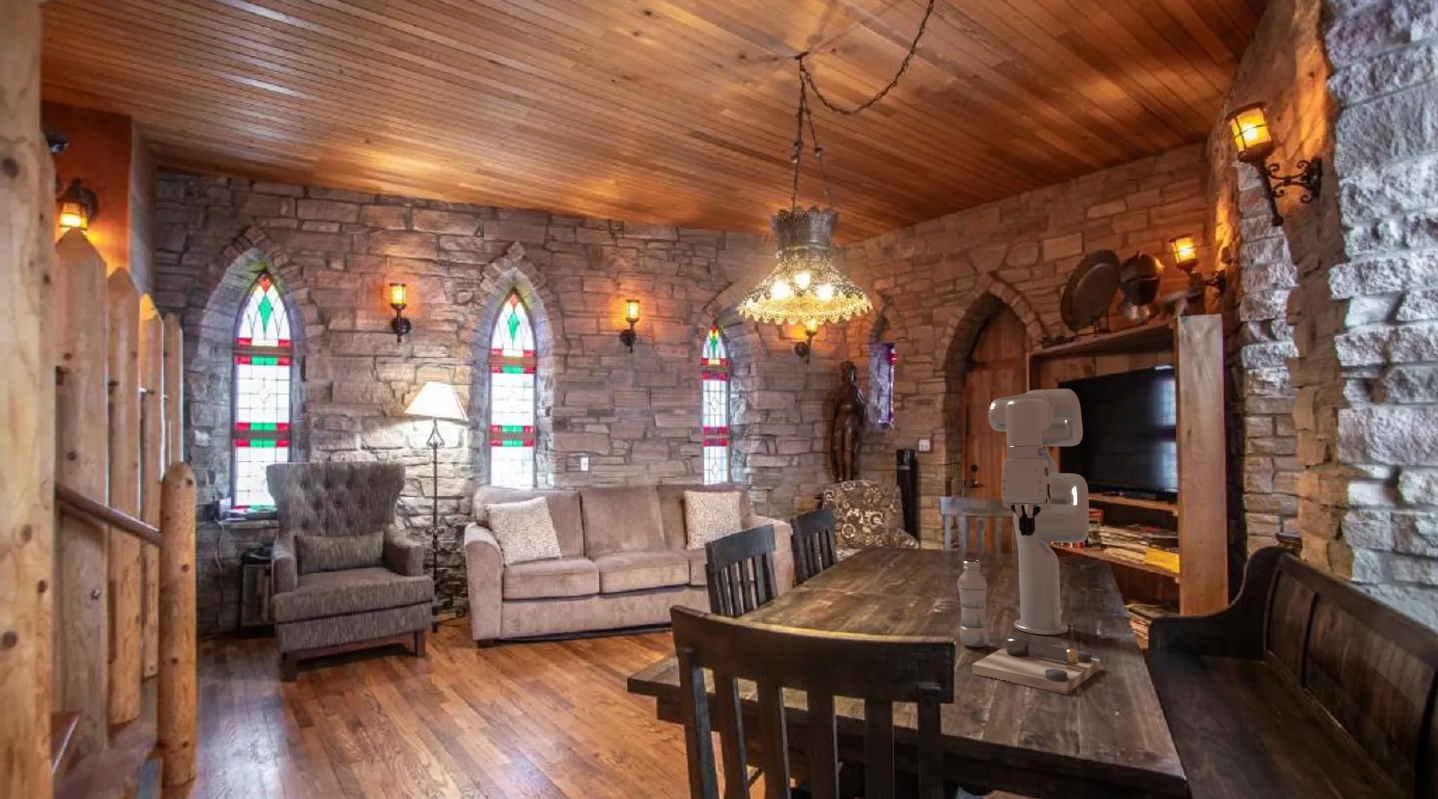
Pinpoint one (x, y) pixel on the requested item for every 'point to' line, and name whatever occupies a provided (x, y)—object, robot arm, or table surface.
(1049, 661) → the plate
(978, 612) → the plastic bottle
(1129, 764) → the table surface
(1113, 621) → the table surface
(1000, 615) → the table surface
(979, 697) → the table surface
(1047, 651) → the grey lever handle
